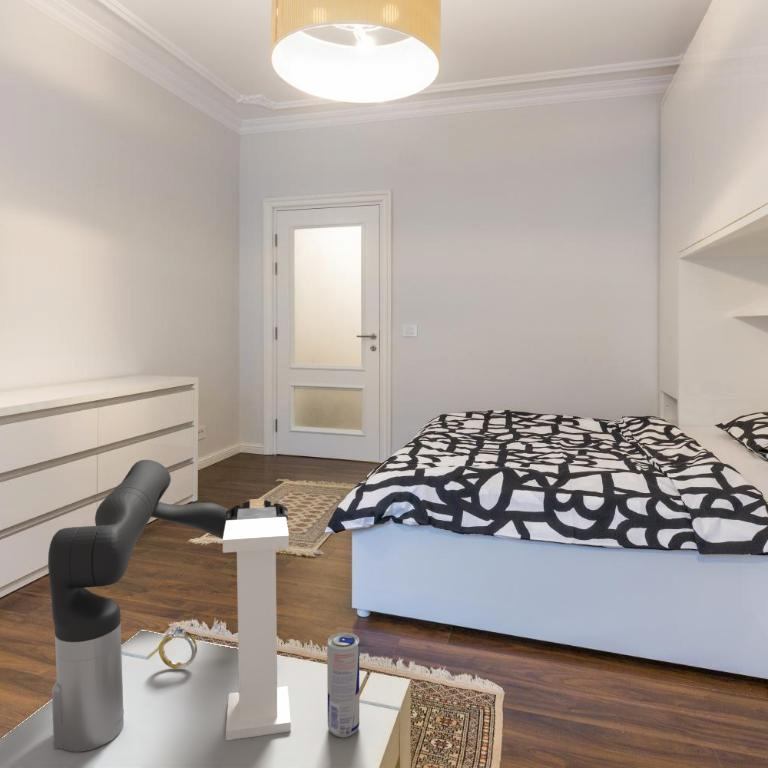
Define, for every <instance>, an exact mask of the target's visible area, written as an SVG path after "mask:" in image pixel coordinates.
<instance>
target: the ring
mask: <svg viewBox="0 0 768 768" xmlns="http://www.w3.org/2000/svg"><path fill="white" fill-rule="evenodd" d="M175 638H176V639H177V638H179V639H182V640H183V639H184V640H185V641H187V643H188V645H189V646H190V649H191V655H190V658H189V660H188V661H186V662H183V663H181V662H177V663H176V662H173V661H172V660H170V659H169V658H168V656H167V654H166V652H165V644H166V643H167V642H169V641H171V640H173V639H175ZM197 652H198V643H197V640H196V639H195V637H194V636H193V635H192V634H191V633H190V632H188V631H186V629H185V628H183V627H181V626H178V627H177V626H175V627H174V628H173V630H172V629H168V630H167V633H166V635H164V637H163V638H162V640H161V642H160V643H159V645H158V655H159V657H160V659H161V661H162V662H163V664H165V665H166V666H168V667H169V668H171V669H173V670H175V669H179V670H182V669H186V668H187V667H189V666H190V665H191V664H192V662H194V660H195V659H196V656H197Z"/></svg>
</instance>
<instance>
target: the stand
mask: <svg viewBox="0 0 768 768" xmlns="http://www.w3.org/2000/svg"><path fill="white" fill-rule="evenodd" d="M287 521H288V520H286V517H276V518H260V519H244V520H227V521H226V525H225V530H224V535H223V539H222V553H223V554H225V553H236V576H237V577H236V579H237V582H236V583H237V639H238V640H237V641H238V642H237V644H238V645H237V646H238V655H237V656H238V692H237V691H236V692H230V693H228V702H227V703H228V704H227V712H226V723H225V724H226V727H225V741H233V740H239V739H244V738H245V739H246V738H252V737H253V738H254V737H260V736H267V735H274V734H281V733H287V732H289V733H290V732H291V731H292V729H291V725H292V723H291V713H290V711H291V709H290V699H289V687H288V685H284V686H278V653H277V652H278V649H277V648H278V643H277V641H278V640H277V639H278V638H277V635H278V634H277V631H278V629H277V557H276V556H277V555H276V553H277V551H276V550H278V549H280V550H281V549H290V536H289V535H290V534H289V528H288V522H287Z"/></svg>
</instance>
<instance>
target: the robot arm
mask: <svg viewBox="0 0 768 768" xmlns="http://www.w3.org/2000/svg"><path fill="white" fill-rule="evenodd" d="M171 480H172V478H171V473H170V472H169V470H168V469H167V468H166V467H165V466H164V465H163V464H162V463H160V462H158V461H156V460H151V459H141V460H138V461H136V462H135V463H134V464H133V465H132V466H131V468H130V469H129V470H128V472H127V474H126V475H125V477H124V478H123V480H122V481H121V483H119V484H118V485H117V486H116V487H115V488H114V489H113V490H112V491H111V492H110V493H109V494H108V495H107V496H106V497H105V498H104V500H102V502H101V503H100V504H99V506H98V507H97V509H96V512H95V514H94V515H95V517H94V524H95V525H91V526H90V525H89V526H75V527H74V526H73V527H71V526H70V527H65V528H62V529H59V530H58V531H56V532H55V533H54V534H53V536H52V538H51V540H50V544H49V549H48V554H47V555H48V556H47V557H48V559H47V566H48V578H49V581H48V582H49V587H50V588H49V589H50V598H51V610H52V611H51V612H52V613H51V614H52V621H53V625H54V642H55V643H54V646H55V669H56V671H55V672H56V681H55V683H54V685H53V686H52V688H51V702H52V726H53V727H52V730H53V749H63V750H66V751H70V752H85V751H91V750H94V749H97V748H100V747H101V746H103V745H106V744H107V743H109V742H111V741H113V739H115V738H116V737H117V736H118V735H119V734H120V733H121V731H122V730H123V727H124V719H125V718H124V713H125V711H124V689H123V683H124V682H123V659H122V658H123V657H122V656H123V655H122V654H123V653H122V625H121V623H122V622H121V621H122V620H121V619H122V618H121V616H122V615H121V614H122V613H121V608H120V605H119V604H118V602H116V601H115V600H113V599H111V598H109V597H104V596H101V595H98V594H95V593H93V592H92V591H90V590H88V589H87V588H95V587H96V588H97V587H106V586H109V585H110V586H111V585H114V584H116V583H117V582H119V581H120V580H121V579H122V578H123V576H124V574H125V573H126V571H127V568H128V566H129V563H130V560H131V557H132V554H133V552H134V549H135V547H136V543H137V541H138V540H139V538H140V536H141V534H143V531H144V529H145V528H146V527H147V525H148V523H149V521H150V519H151V518H154V519H158V520H162V521H165V522H169V523H170V522H171V523H174V524H179V525H182V526H188V527H190V528H194V529H197V530H198V531H199V530H200V531H201V532H202V531H203V532H204V533H208V534H210V535H212V536H215V537H216V538H218V539H221V540H223V535H224V530H225V525H226V521H227V520H237V515H238V509H247V508H249V506H250V500H251V499H248V500H245V501H246V502H243V503H242V506H241V505H239V504H237V505H236V504H235V505H234V506H232V507H231V508H230V509H229V508H227V507H225V506H223V505H221V504H217V503H213V502H199V503H188V504H170V503H165V502H162V501H160V500H161V498H162V497H163V496H164V495H165V493H166V491H167V490H168V488H169V487H170V484H171ZM264 506H265V507H276V517H286V521H288V520H289V516H288V515H289V513H288V512H289V511H288V509H289V508H288V507H286V506H284V505H283V504H281V503H278V502H275V503H273V505H272V501H271V500H270V501H269V500H268V499H265V498H264Z"/></svg>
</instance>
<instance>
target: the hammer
mask: <svg viewBox="0 0 768 768" xmlns="http://www.w3.org/2000/svg"><path fill="white" fill-rule="evenodd" d="M249 500H250V506H249V508H247V509H238V515H237V520H244V519H260V518H276V507H265V506H264V500H265V498H256V499H255V498H254V499H253V498H252V499H249Z"/></svg>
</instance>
